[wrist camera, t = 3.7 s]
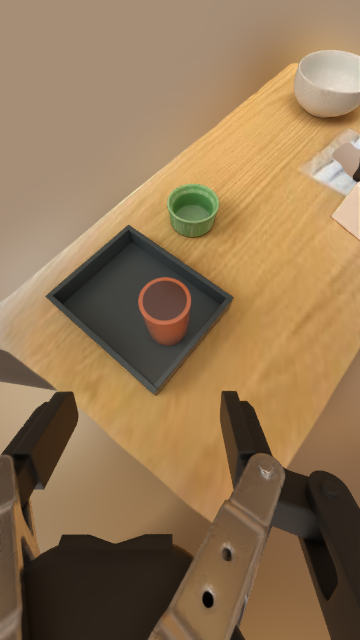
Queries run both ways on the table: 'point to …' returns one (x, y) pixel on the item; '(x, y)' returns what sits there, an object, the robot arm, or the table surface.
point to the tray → (136, 305)
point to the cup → (166, 310)
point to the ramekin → (192, 209)
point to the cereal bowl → (328, 83)
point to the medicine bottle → (350, 212)
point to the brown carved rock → (357, 175)
